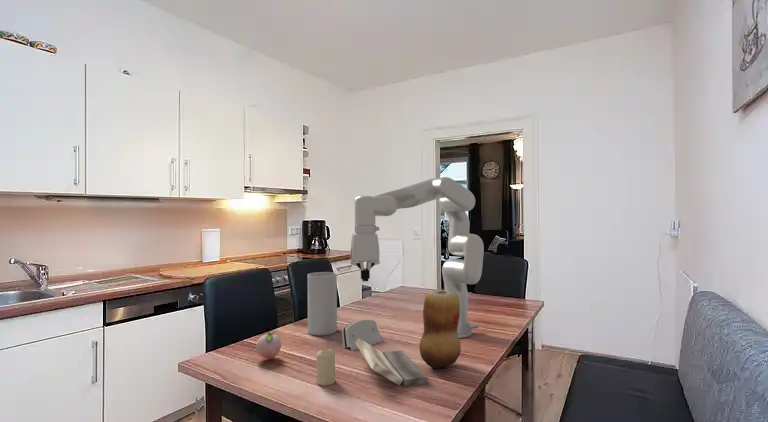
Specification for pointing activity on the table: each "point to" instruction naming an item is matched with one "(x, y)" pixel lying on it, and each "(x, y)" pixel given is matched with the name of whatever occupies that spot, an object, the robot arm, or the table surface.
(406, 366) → the floor board
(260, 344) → the decorative fruit
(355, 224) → the robot arm
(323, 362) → the candle
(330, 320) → the cylinder vase
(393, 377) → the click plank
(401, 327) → the table surface
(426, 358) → the butternut squash
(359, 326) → the grey flat curved part
